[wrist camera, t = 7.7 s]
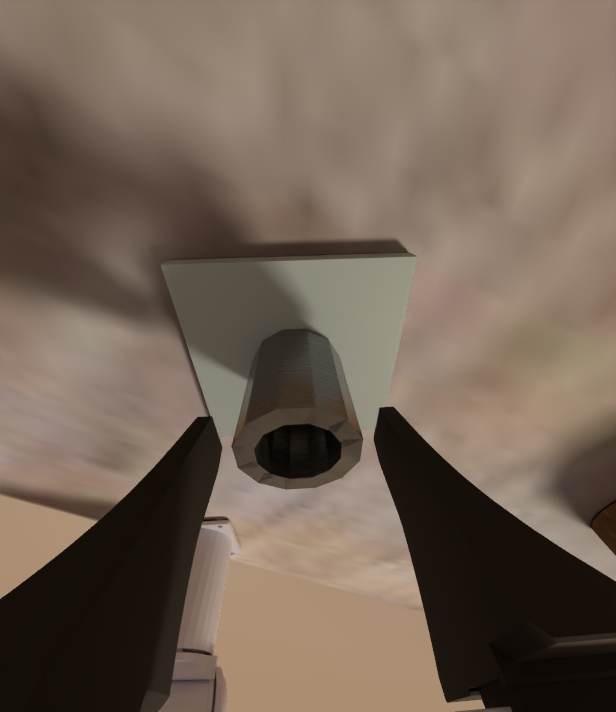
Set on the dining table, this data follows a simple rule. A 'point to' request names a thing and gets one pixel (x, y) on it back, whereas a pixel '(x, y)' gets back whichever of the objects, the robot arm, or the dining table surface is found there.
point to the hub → (297, 414)
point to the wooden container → (606, 526)
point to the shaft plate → (291, 319)
